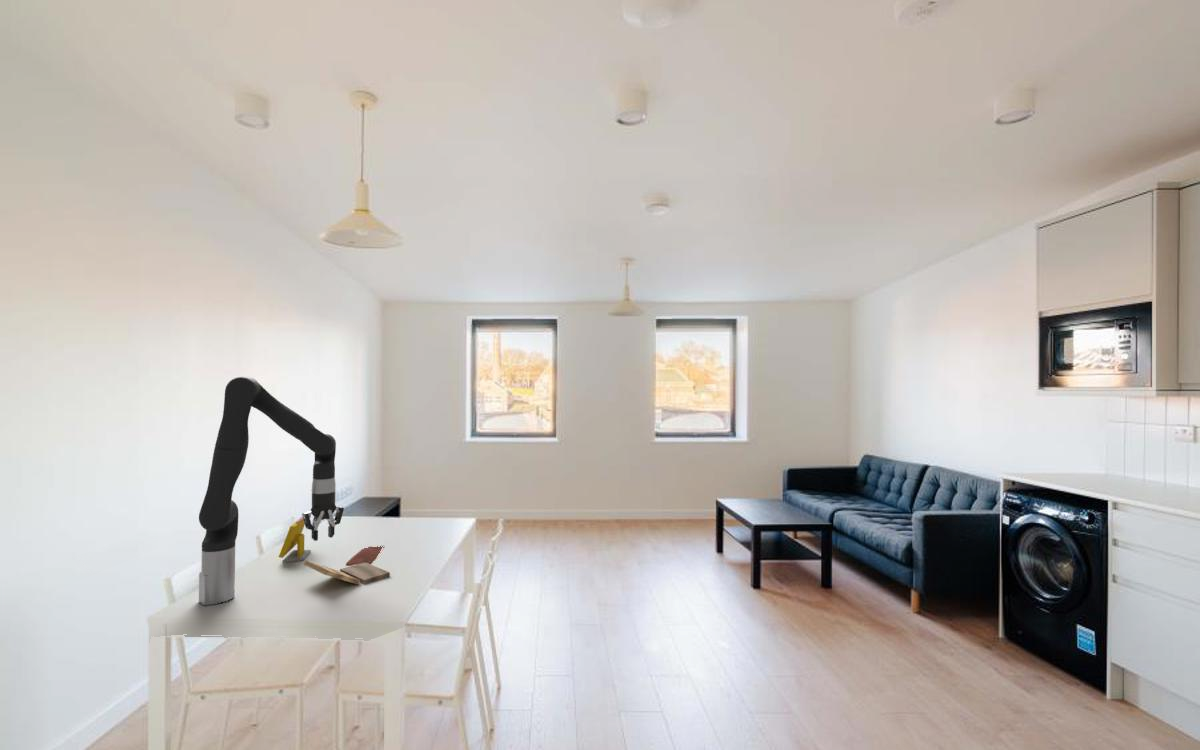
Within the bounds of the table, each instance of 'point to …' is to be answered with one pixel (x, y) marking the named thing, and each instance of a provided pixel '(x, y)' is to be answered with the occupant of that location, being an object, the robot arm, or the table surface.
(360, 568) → the walnut board
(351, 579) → the light wood board
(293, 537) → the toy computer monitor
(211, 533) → the robot arm
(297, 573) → the table surface
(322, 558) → the table surface
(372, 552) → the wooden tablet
